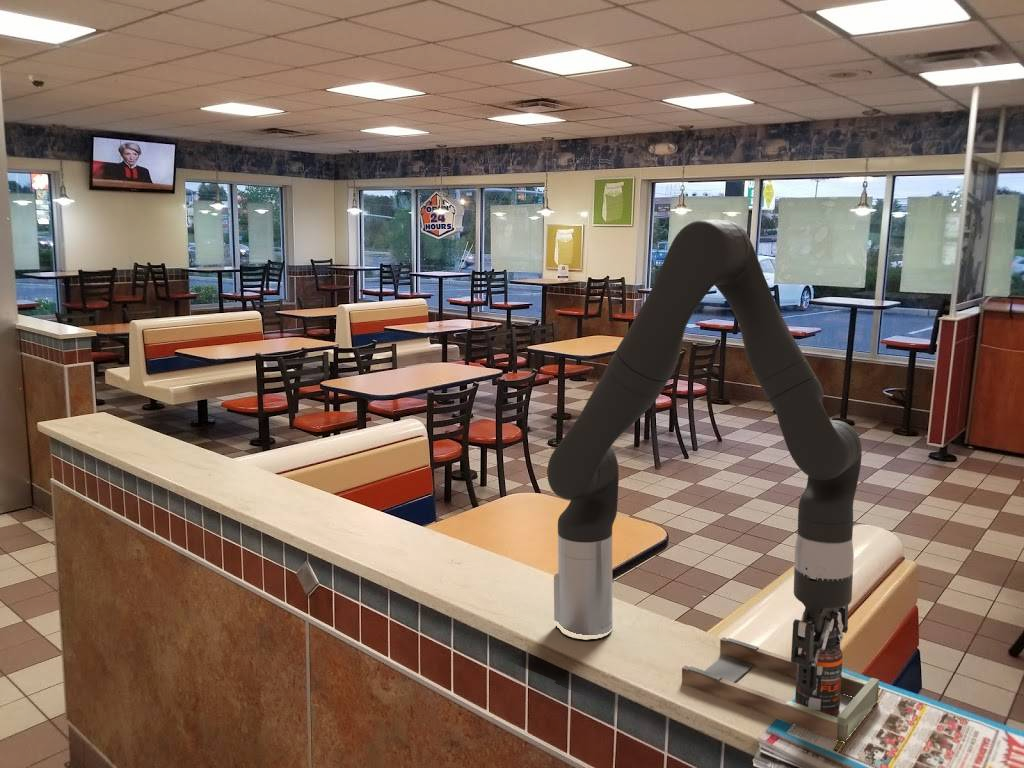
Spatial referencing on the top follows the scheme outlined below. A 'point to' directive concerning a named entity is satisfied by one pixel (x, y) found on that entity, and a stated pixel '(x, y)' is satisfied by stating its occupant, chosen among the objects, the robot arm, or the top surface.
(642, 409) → the robot arm
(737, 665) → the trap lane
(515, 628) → the top surface
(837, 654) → the supplement bottle
